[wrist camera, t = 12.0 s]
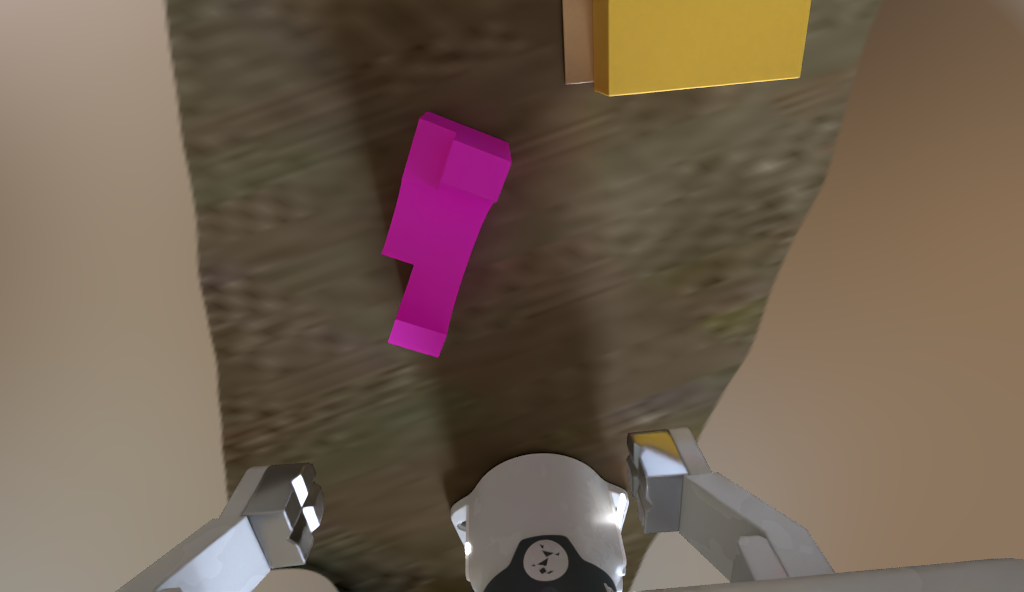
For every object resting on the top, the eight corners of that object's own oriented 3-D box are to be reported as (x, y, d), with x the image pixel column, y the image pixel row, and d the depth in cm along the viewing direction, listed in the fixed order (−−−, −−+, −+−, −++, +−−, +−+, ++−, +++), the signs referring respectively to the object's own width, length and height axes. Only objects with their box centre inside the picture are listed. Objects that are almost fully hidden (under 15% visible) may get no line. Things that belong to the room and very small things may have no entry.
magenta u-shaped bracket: (427, 110, 37) (412, 124, 30) (508, 142, 38) (511, 162, 31) (375, 287, 43) (353, 332, 36) (446, 310, 44) (438, 357, 37)
